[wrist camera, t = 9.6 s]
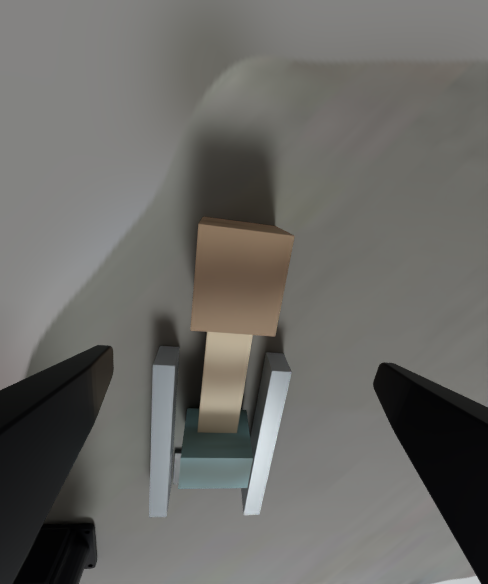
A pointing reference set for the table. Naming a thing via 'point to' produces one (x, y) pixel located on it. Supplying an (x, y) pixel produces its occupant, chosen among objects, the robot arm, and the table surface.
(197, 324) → the block
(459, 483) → the robot arm
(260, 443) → the channel
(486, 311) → the table surface
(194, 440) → the push rod
